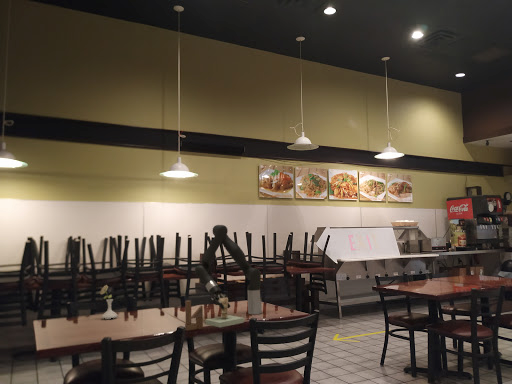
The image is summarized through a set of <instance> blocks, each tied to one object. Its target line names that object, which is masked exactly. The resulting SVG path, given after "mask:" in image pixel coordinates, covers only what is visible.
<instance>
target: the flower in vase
mask: <svg viewBox="0 0 512 384" xmlns="http://www.w3.org/2000/svg"><path fill="white" fill-rule="evenodd" d="M108 289H109V286H108V285H107V284H106V285H104V286H103V287H101V290H100V291H99V294H100V295H104V294H106V295H105V296H104V297H103V298H102V299H104V300H106V303H107V310H106V311H105V312H104V313H103V314H102V315H101V319H103V318H105V319H104V320H112V319H111V318H113V319H115V318H117V317H118V316H119V315H118V314H117V313H116V312H115V311H113V310H112V303H113V301H114V299H113V298H112V297H113V296H112V294H110V295H108V292H107V291H108ZM107 298H108V299H107Z"/></svg>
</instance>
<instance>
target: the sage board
mask: <svg viewBox="0 0 512 384" xmlns="http://www.w3.org/2000/svg"><path fill="white" fill-rule="evenodd" d="M243 323H245V318H244V317H243V316H236V315H229V314H227V318H225V319H223V318H222V316H217V317H212V318H207V319H205V325H207V326H211V327H216V328H224V327H229V326H234V325H239V324H243Z"/></svg>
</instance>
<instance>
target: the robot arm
mask: <svg viewBox="0 0 512 384" xmlns="http://www.w3.org/2000/svg"><path fill="white" fill-rule="evenodd" d="M228 231H229V230H228V227H227V225H224V224H217V225H214V226H213V227H212V234H213V235H214V237H213V239H212V241H211V243H210V244H209V246H207V248H206V249H205V252H204V254H203V256H202V258H201V262H202V263H201V265H197V266H195V268H194V273H195V275H196V276H197V278H199V280H200V281H201V282H202V283H203V285H204V287H205V288H206V290H207V291H208V293H209V295H210V296H211V298H210V300H211V301H212V303H214V305H215V306H219V308H220V309H222V310H223V309H224V306H223V304H222V303H221V300H220V298H228V308H227V309H230V308H231V305H230V304H229V303H230V299H229V297H228V295H227V294H226V293H225V294H223V293H222V289H221V288H220V286H219V285H218V284H217V282H216V281H215V280H214V278H213V277H212V275H210V274H209V271H210V268H211V267H210V266H211V263H212V262H213V259H214V257H215V255H216V253H217V251H218V249H219V247H220V245H223V247H224V249H225V250H226V251H227V253H228V254H229V256H230V257H231V258H232V260H233V261H234V263H236V265H237V266H238V267H239V268H240V270H241V271H242V273H243V274H244V276H245V278H246V279H247V280H248V281H249V284H248V286H247V312H248V315H259V314H262V313H263V312H262V308H263V307H262V299H261V283H262V275H261V271H260V269H259V268H255V267H252V266H251V265H250V263H249V262H248V260H247V259H246V255H245V252H244V251H243V249H242V248H241V247H240V246H239V245H238V244H237V243H236V242H235V241H234V240H233V239H232V238H231V237H229V235H228Z"/></svg>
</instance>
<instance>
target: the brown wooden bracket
mask: <svg viewBox="0 0 512 384" xmlns="http://www.w3.org/2000/svg"><path fill="white" fill-rule="evenodd" d="M184 303H185V307H184V308H185V309H184V310H185V324H184V328H185V327H186V330H185V331H186V332H187V331H194V330H195V331H196V330H202V329H204V323H203V322H204V321H203V320H204V315H203V313H204V312H203V309H204V308H203V307H204V306H203V305H200V306H199V307H198V308H197V310H195V312H194V313H193V314H192V300H191V299H190V300H185V302H184ZM192 319H195V322H192Z"/></svg>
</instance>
